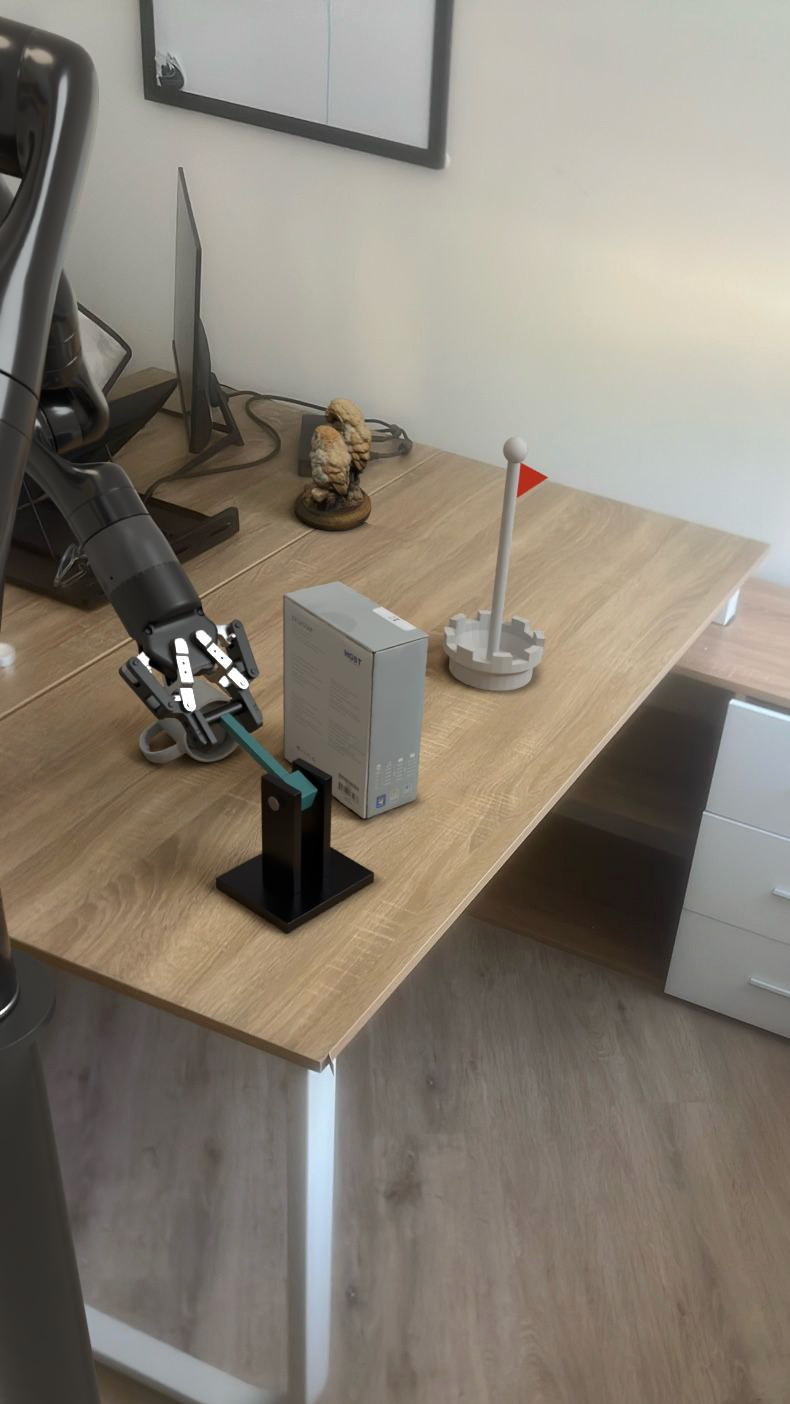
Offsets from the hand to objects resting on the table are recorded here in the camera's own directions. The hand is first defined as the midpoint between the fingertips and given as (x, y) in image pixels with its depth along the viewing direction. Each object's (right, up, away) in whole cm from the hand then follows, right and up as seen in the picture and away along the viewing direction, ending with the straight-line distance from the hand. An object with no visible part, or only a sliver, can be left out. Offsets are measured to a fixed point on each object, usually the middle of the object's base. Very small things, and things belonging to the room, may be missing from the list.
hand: (234, 738), depth 122 cm
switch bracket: (+5, -14, +5) cm, 16 cm away
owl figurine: (-3, +50, +79) cm, 94 cm away
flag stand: (+23, +17, +45) cm, 53 cm away
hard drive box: (+8, -1, +21) cm, 22 cm away
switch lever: (+2, -3, 0) cm, 3 cm away
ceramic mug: (-10, +2, +21) cm, 24 cm away
